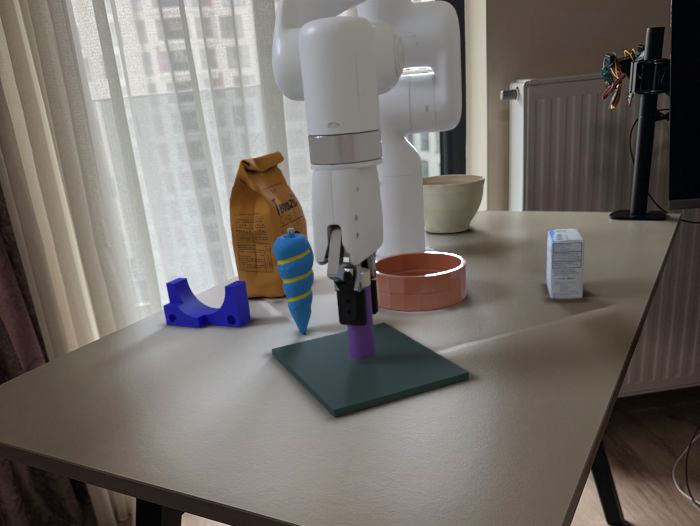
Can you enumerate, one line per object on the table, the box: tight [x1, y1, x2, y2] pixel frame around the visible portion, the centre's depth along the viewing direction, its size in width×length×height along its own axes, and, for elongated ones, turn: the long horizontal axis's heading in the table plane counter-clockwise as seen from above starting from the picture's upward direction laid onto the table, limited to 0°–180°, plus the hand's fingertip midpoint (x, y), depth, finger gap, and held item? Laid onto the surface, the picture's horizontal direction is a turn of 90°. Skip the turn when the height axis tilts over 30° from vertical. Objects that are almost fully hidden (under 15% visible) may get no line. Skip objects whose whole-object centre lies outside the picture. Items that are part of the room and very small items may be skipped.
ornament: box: [273, 224, 315, 335], centre depth 85 cm, size 5×5×15 cm
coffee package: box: [229, 150, 309, 299], centre depth 104 cm, size 10×12×22 cm
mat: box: [271, 322, 470, 418], centre depth 76 cm, size 20×16×1 cm
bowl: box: [372, 251, 468, 312], centre depth 97 cm, size 14×14×6 cm
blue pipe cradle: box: [162, 277, 252, 329], centre depth 95 cm, size 12×4×6 cm, turn 65°
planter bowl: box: [423, 174, 486, 234], centre depth 140 cm, size 16×16×11 cm
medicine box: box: [545, 228, 585, 299], centre depth 93 cm, size 8×4×9 cm, turn 168°
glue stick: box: [345, 268, 375, 359], centre depth 74 cm, size 3×3×10 cm
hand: (359, 317), depth 74 cm, fingers closed on glue stick, 3 cm apart
